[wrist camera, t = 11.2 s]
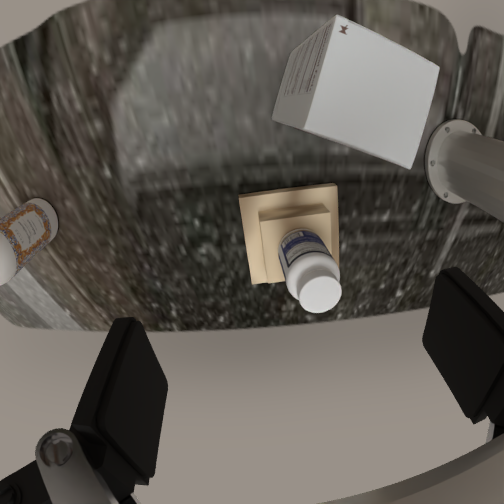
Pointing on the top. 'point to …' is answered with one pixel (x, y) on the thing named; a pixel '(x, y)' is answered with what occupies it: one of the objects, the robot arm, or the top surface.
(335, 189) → the plinth
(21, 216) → the bath foam
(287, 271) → the pill bottle
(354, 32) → the supplement box
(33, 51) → the top surface
